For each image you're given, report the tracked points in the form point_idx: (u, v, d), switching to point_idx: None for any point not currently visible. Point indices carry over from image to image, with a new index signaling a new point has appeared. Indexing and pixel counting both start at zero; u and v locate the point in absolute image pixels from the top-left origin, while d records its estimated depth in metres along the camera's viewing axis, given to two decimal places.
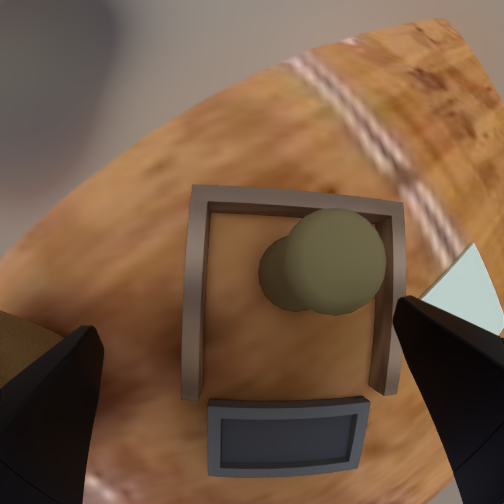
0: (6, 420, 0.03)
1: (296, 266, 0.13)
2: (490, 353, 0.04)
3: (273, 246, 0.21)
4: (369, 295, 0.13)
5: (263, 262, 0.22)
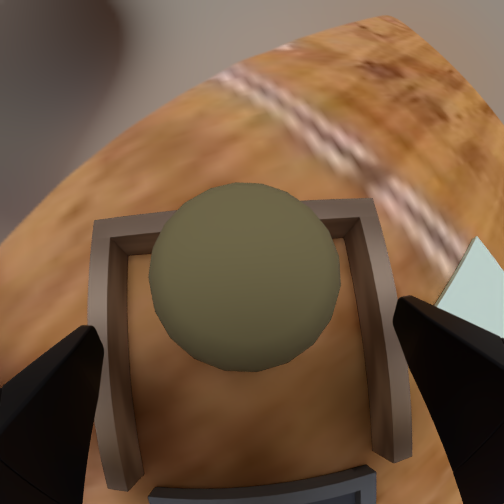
0: (6, 420, 0.03)
1: (156, 287, 0.07)
2: (490, 353, 0.04)
3: None
4: (309, 324, 0.06)
5: None
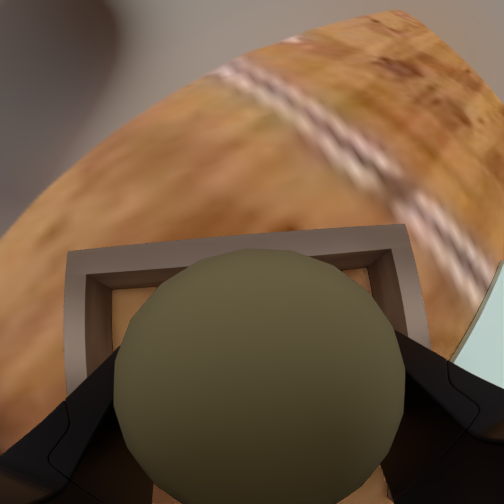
0: (81, 439, 0.03)
1: (124, 433, 0.03)
2: (425, 380, 0.04)
3: None
4: (360, 482, 0.03)
5: None
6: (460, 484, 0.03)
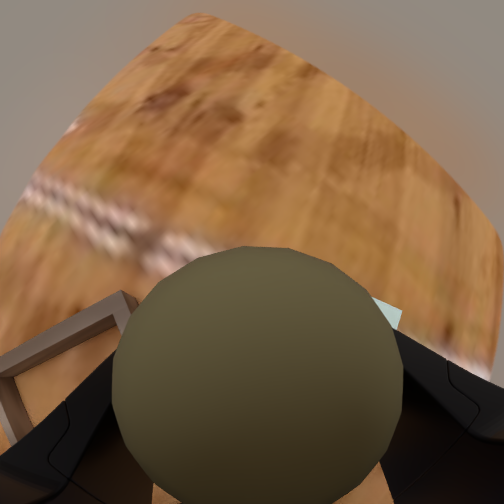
0: (81, 439, 0.03)
1: (122, 431, 0.03)
2: (426, 380, 0.04)
3: None
4: (358, 481, 0.03)
5: None
6: (460, 484, 0.03)
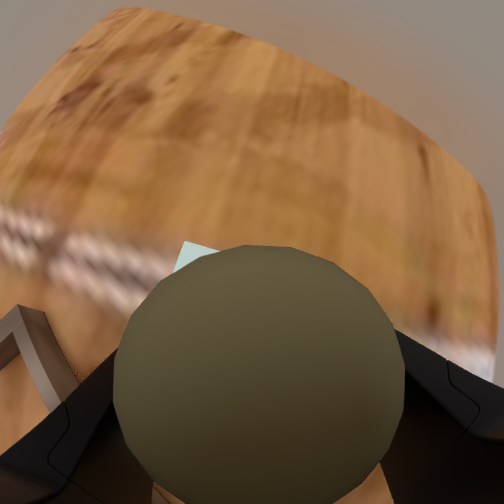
0: (81, 439, 0.03)
1: (124, 430, 0.03)
2: (425, 380, 0.04)
3: None
4: (360, 480, 0.03)
5: None
6: (460, 484, 0.03)
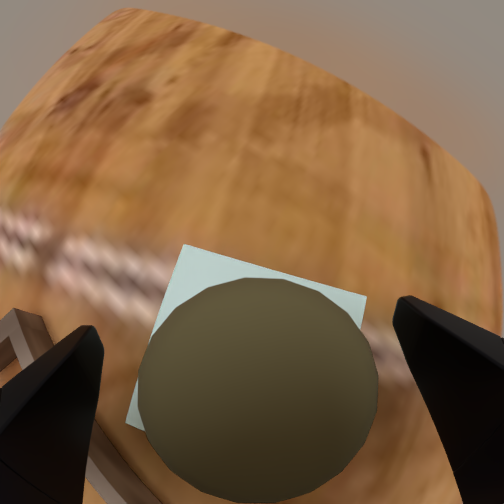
0: (6, 420, 0.03)
1: (148, 429, 0.04)
2: (490, 353, 0.04)
3: None
4: (339, 469, 0.04)
5: None
6: None
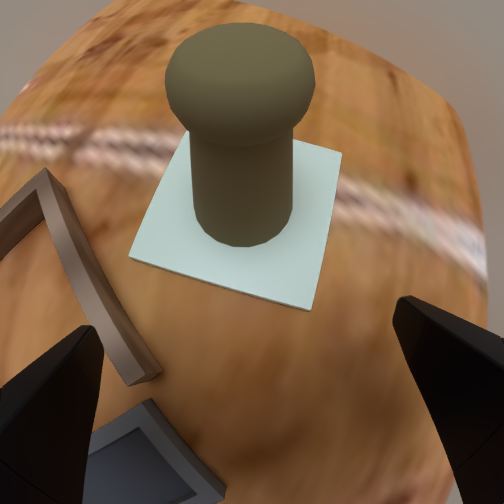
0: (6, 420, 0.03)
1: (172, 66, 0.08)
2: (490, 353, 0.04)
3: None
4: (288, 75, 0.07)
5: None
6: None
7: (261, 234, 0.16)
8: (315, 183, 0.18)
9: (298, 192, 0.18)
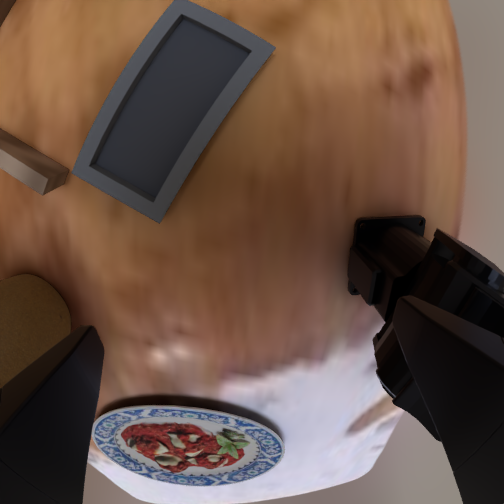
0: (6, 420, 0.03)
1: None
2: (490, 353, 0.04)
3: None
4: None
5: None
6: None
7: None
8: None
9: None
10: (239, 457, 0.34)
